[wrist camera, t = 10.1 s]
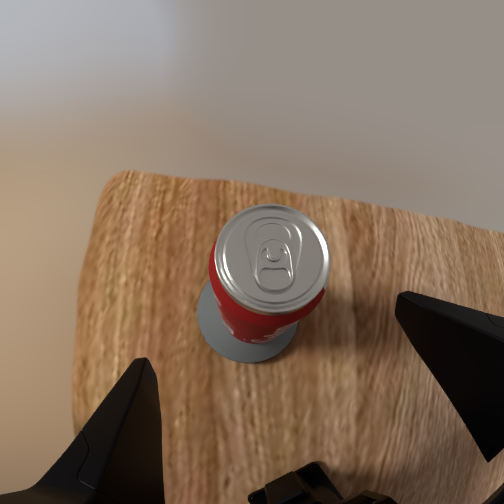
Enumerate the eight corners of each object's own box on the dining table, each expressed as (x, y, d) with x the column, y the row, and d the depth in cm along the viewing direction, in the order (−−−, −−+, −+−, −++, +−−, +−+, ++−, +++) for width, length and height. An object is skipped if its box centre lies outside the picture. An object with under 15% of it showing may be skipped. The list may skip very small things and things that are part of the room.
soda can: (286, 279, 23) (330, 198, 12) (288, 343, 21) (345, 319, 10) (221, 278, 23) (209, 194, 12) (220, 344, 21) (202, 320, 10)
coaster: (314, 330, 22) (317, 329, 22) (229, 380, 20) (229, 381, 20) (265, 251, 25) (266, 247, 24) (182, 294, 23) (180, 291, 22)
